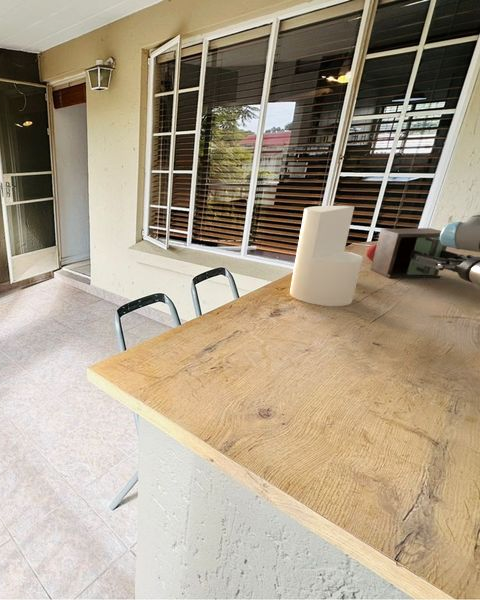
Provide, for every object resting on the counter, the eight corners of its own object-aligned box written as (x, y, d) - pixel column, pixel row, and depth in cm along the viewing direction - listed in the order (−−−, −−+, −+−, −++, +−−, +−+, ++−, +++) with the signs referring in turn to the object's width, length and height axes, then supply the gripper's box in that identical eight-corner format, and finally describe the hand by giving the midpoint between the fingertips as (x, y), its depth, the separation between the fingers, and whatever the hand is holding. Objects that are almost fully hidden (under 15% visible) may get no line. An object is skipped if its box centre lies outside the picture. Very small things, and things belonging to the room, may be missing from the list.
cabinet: (440, 278, 124) (455, 233, 119) (389, 278, 127) (401, 234, 122) (417, 269, 135) (429, 228, 129) (370, 269, 138) (380, 229, 132)
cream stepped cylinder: (278, 294, 118) (292, 209, 108) (309, 284, 125) (325, 204, 115) (332, 310, 104) (354, 214, 94) (364, 298, 111) (387, 208, 101)
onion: (362, 261, 149) (367, 242, 146) (366, 258, 152) (370, 240, 149) (379, 263, 144) (384, 244, 142) (383, 261, 148) (388, 242, 145)
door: (444, 278, 120) (457, 239, 115) (417, 278, 122) (429, 239, 117) (432, 274, 125) (444, 236, 121) (406, 274, 127) (417, 236, 122)
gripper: (437, 283, 106) (389, 263, 127) (520, 284, 102) (456, 263, 123) (445, 259, 103) (395, 243, 124) (531, 259, 99) (464, 242, 120)
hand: (425, 253), depth 123 cm, fingers closed on door, 8 cm apart
